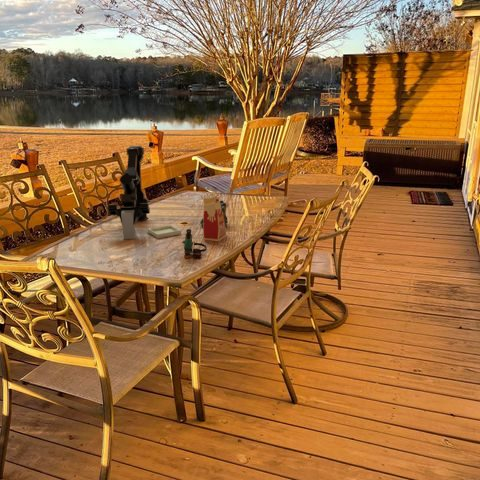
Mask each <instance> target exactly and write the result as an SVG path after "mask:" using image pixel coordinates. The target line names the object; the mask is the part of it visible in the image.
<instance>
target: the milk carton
mask: <svg viewBox="0 0 480 480" xmlns="http://www.w3.org/2000/svg"><path fill="white" fill-rule="evenodd" d="M202 200H203V213H204V215H202V218H203V227H202V229H203V230H202V231H203V236H202V237H203V240H204V241H205V240H206V241H215V242H219V241H221V240H222V239H224V238H225V237H226V236H227V229H226V225H225V222H224V217H223V212H222V208H221V205H220V201H221V200H220V199H219V198H218V195H215V196H214V195H213V196H212V197H206V198H205V197H204V198H202Z"/></svg>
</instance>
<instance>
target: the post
mask: <svg viewBox="0 0 480 480" xmlns="http://www.w3.org/2000/svg"><path fill="white" fill-rule="evenodd" d="M121 218H122V223H121V226H122V227H121V228H122V234H123V235H122V236H123V237H122V238H123V240H131V239H133V240H135V239H136V237H137V232H136V224H135V225H134V224H133V220H134V210H123V211H122V212H121Z"/></svg>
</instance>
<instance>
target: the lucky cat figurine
mask: <svg viewBox="0 0 480 480" xmlns="http://www.w3.org/2000/svg"><path fill="white" fill-rule="evenodd" d="M219 201H220V205H221V208H222V212H223V217H224V222H225V226H226V225H227V224H228V222H229V221H228V217H227V214H226V211H227V203H226V202H224V200H219ZM203 215H204V212H203ZM203 215H202V216H203ZM200 226H201V227H202V228H203V217H202V218H201V219H200Z"/></svg>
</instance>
